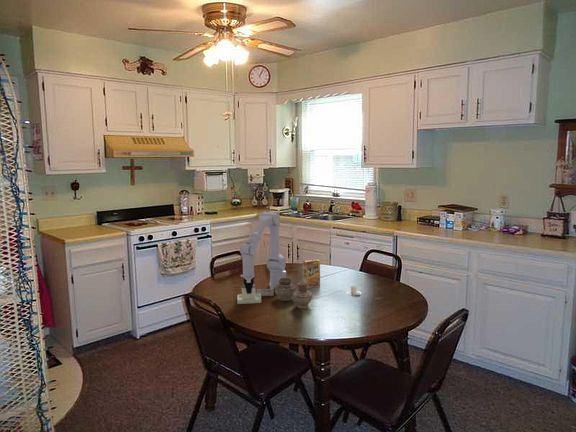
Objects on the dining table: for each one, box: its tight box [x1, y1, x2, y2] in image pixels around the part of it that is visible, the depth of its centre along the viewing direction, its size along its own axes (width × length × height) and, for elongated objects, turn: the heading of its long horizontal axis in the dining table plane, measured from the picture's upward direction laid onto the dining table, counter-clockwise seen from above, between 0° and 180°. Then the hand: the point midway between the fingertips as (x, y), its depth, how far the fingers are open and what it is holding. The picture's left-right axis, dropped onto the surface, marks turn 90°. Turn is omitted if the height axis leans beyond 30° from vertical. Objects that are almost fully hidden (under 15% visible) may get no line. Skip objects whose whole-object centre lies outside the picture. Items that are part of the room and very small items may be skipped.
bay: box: [256, 285, 275, 297], centre depth 231 cm, size 9×7×4 cm
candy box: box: [302, 258, 321, 289], centre depth 242 cm, size 9×4×15 cm, turn 113°
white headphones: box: [346, 285, 362, 297], centre depth 231 cm, size 9×8×4 cm
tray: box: [236, 293, 262, 305], centre depth 222 cm, size 12×9×2 cm
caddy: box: [240, 283, 257, 299], centre depth 221 cm, size 8×4×7 cm, turn 95°
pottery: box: [274, 277, 313, 309], centre depth 217 cm, size 11×25×12 cm, turn 38°
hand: (249, 292), depth 221 cm, fingers closed on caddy, 4 cm apart
